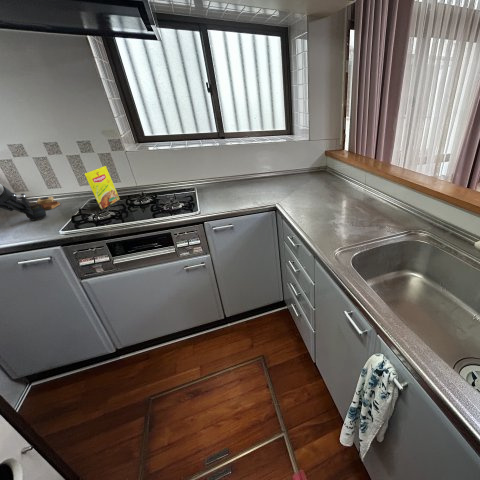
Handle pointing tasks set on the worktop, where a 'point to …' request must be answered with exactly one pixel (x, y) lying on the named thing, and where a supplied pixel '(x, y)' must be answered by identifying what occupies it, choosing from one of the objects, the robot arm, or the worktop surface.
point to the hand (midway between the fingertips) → (30, 213)
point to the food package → (102, 187)
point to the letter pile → (47, 203)
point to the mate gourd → (37, 211)
